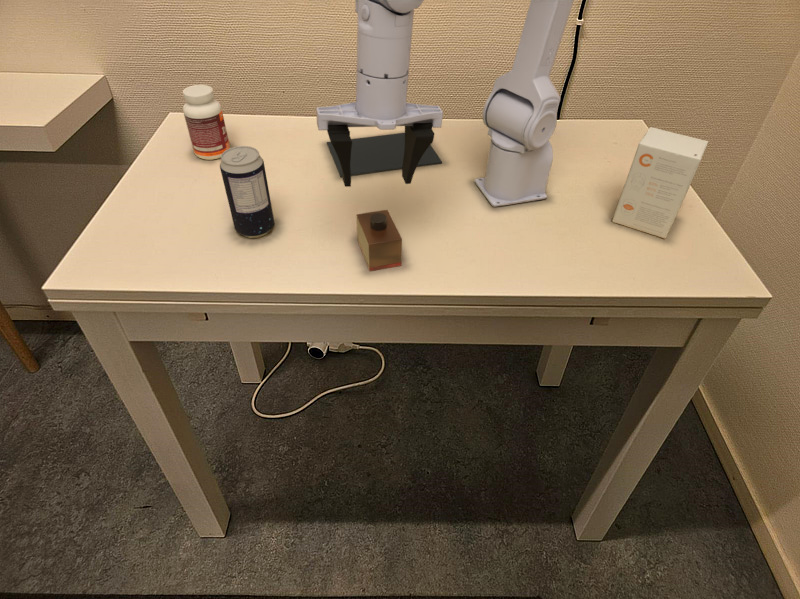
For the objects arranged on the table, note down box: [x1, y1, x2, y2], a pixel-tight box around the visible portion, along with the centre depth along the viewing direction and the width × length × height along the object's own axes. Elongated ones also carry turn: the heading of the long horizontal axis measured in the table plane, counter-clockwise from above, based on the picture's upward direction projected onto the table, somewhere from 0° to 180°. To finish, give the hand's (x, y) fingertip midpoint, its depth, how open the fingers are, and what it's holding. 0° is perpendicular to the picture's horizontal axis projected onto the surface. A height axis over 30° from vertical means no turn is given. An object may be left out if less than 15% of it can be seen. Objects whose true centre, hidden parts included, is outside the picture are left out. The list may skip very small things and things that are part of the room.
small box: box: [611, 126, 709, 239], centre depth 77 cm, size 8×6×13 cm
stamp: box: [355, 209, 403, 272], centre depth 72 cm, size 4×7×6 cm, turn 17°
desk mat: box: [326, 132, 443, 178], centre depth 95 cm, size 18×12×1 cm, turn 107°
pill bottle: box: [182, 84, 231, 161], centre depth 90 cm, size 6×6×11 cm
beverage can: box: [219, 145, 275, 239], centre depth 74 cm, size 6×6×12 cm
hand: (376, 181), depth 67 cm, fingers open, 7 cm apart
